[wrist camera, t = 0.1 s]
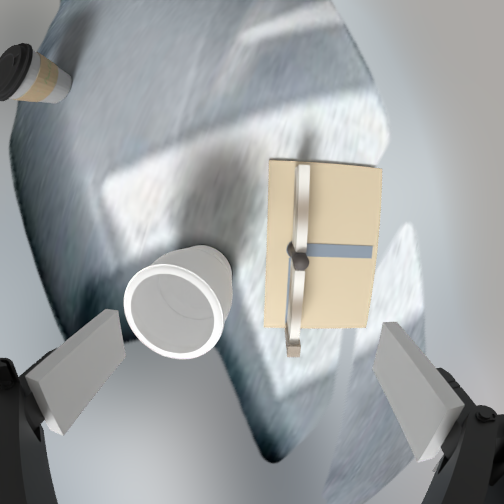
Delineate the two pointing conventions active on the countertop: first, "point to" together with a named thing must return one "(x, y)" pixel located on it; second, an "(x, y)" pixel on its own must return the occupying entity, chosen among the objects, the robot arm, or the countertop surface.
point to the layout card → (324, 244)
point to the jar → (181, 302)
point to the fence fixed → (294, 309)
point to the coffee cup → (31, 76)
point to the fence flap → (300, 217)
